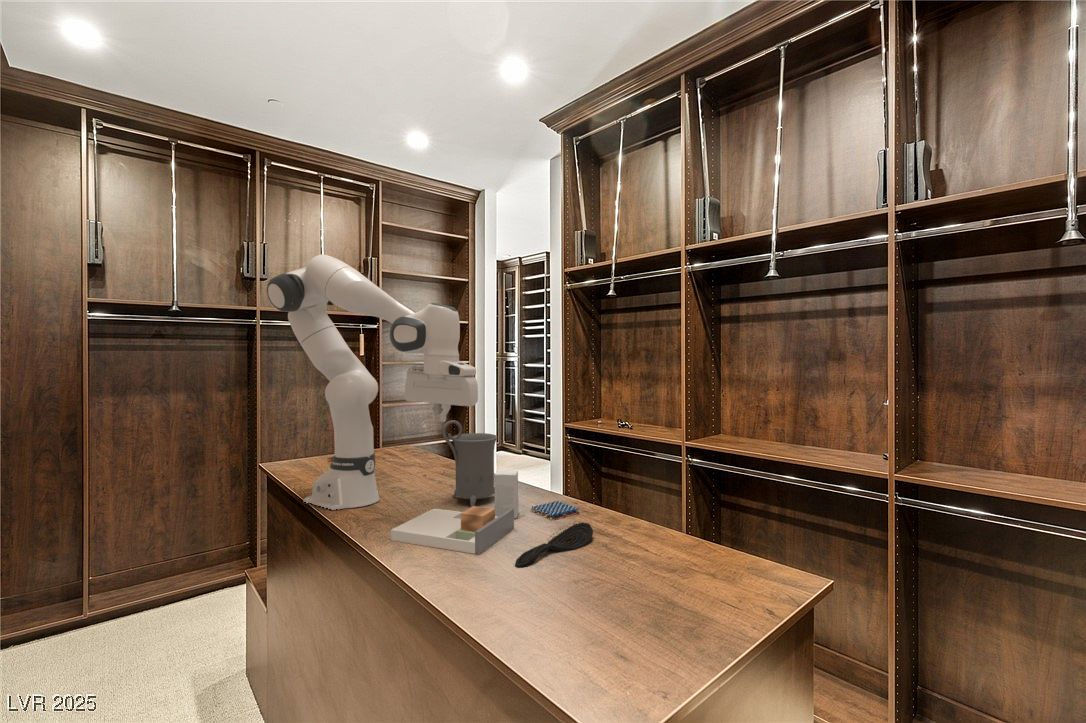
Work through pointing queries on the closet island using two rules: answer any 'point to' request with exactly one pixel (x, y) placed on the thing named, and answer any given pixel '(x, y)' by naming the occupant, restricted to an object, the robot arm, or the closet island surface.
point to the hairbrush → (559, 543)
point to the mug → (472, 463)
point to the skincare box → (506, 492)
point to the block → (476, 518)
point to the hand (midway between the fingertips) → (439, 421)
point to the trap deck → (452, 531)
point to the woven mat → (555, 510)
